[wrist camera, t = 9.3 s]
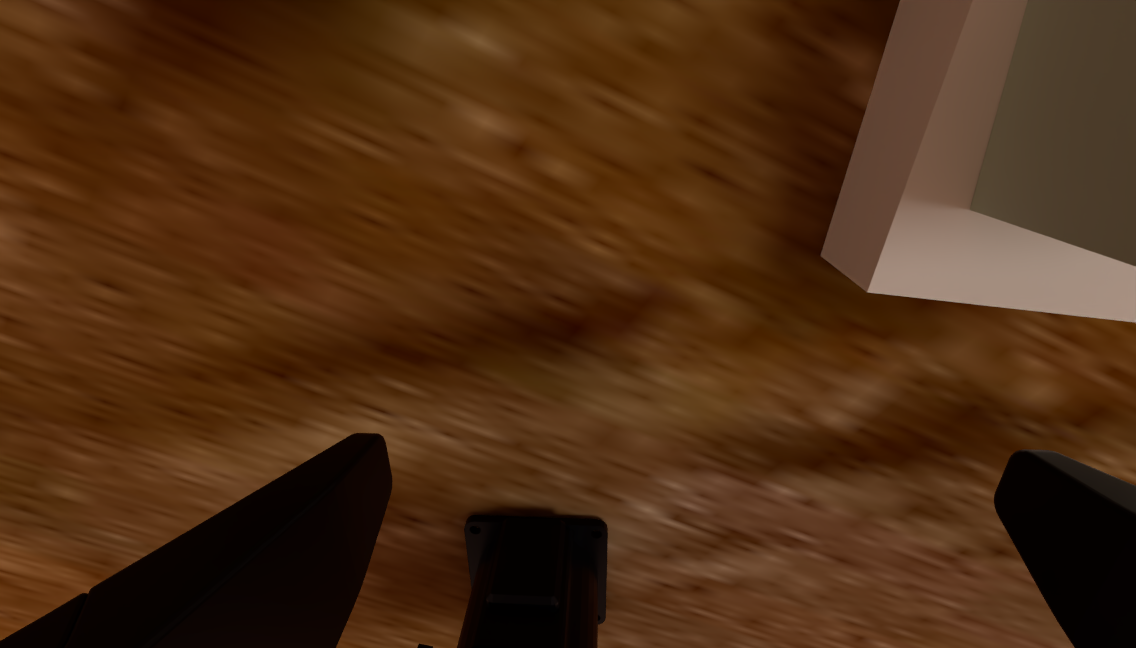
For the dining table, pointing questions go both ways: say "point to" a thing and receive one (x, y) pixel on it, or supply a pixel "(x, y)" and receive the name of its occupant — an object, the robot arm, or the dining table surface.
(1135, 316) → the plinth
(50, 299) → the dining table surface
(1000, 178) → the sage cube
